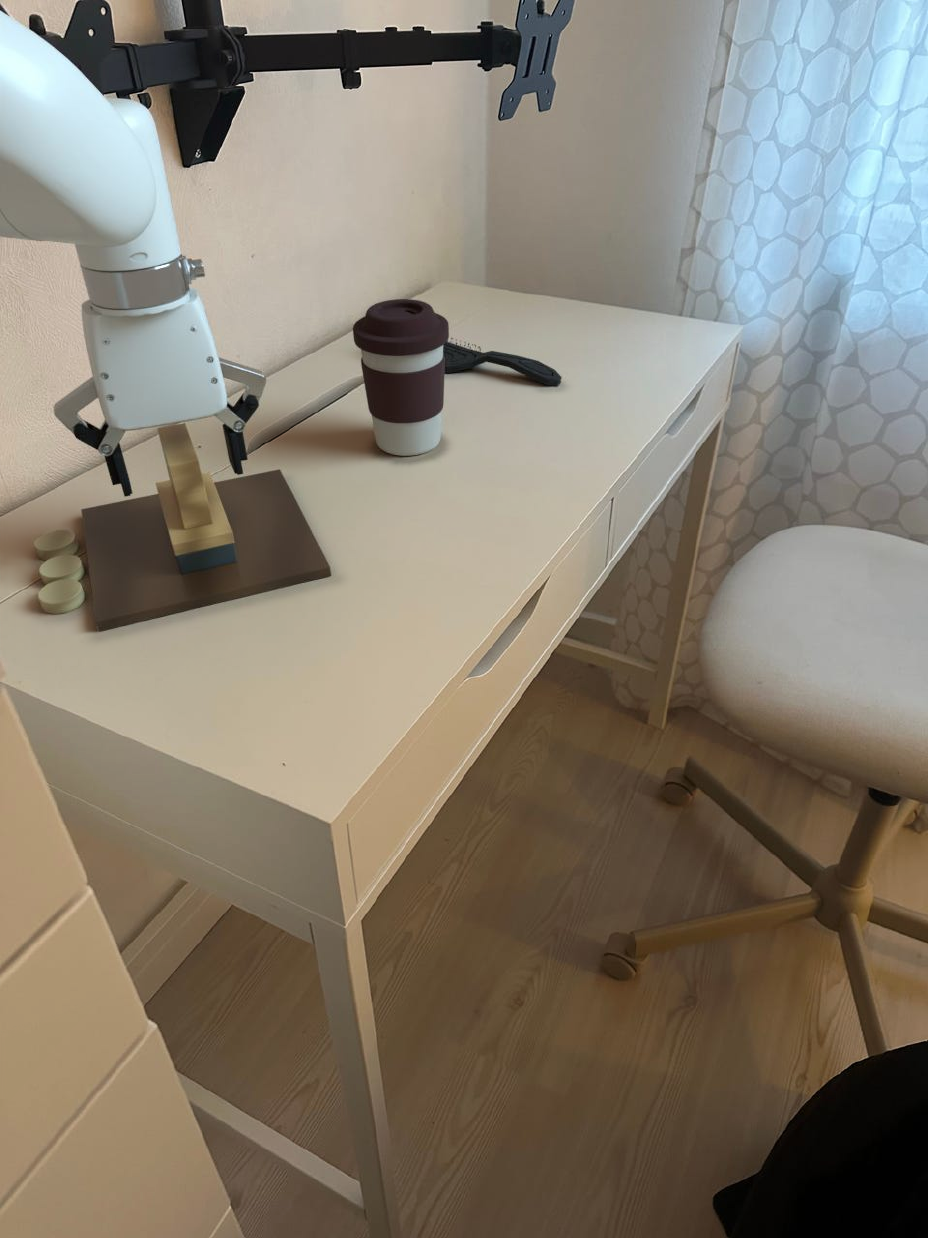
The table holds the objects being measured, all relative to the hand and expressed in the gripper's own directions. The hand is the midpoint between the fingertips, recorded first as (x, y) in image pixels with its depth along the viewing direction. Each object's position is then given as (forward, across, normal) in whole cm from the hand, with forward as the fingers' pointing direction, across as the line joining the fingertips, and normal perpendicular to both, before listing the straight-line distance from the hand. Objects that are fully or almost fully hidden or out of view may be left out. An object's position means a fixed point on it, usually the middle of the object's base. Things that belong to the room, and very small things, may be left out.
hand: (182, 478), depth 80 cm
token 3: (+7, +12, +4) cm, 15 cm away
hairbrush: (+7, -40, -29) cm, 50 cm away
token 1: (+7, +12, -5) cm, 15 cm away
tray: (+7, 0, 0) cm, 7 cm away
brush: (+6, 0, 0) cm, 6 cm away
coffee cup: (+7, -25, -12) cm, 29 cm away
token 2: (+7, +12, 0) cm, 14 cm away
